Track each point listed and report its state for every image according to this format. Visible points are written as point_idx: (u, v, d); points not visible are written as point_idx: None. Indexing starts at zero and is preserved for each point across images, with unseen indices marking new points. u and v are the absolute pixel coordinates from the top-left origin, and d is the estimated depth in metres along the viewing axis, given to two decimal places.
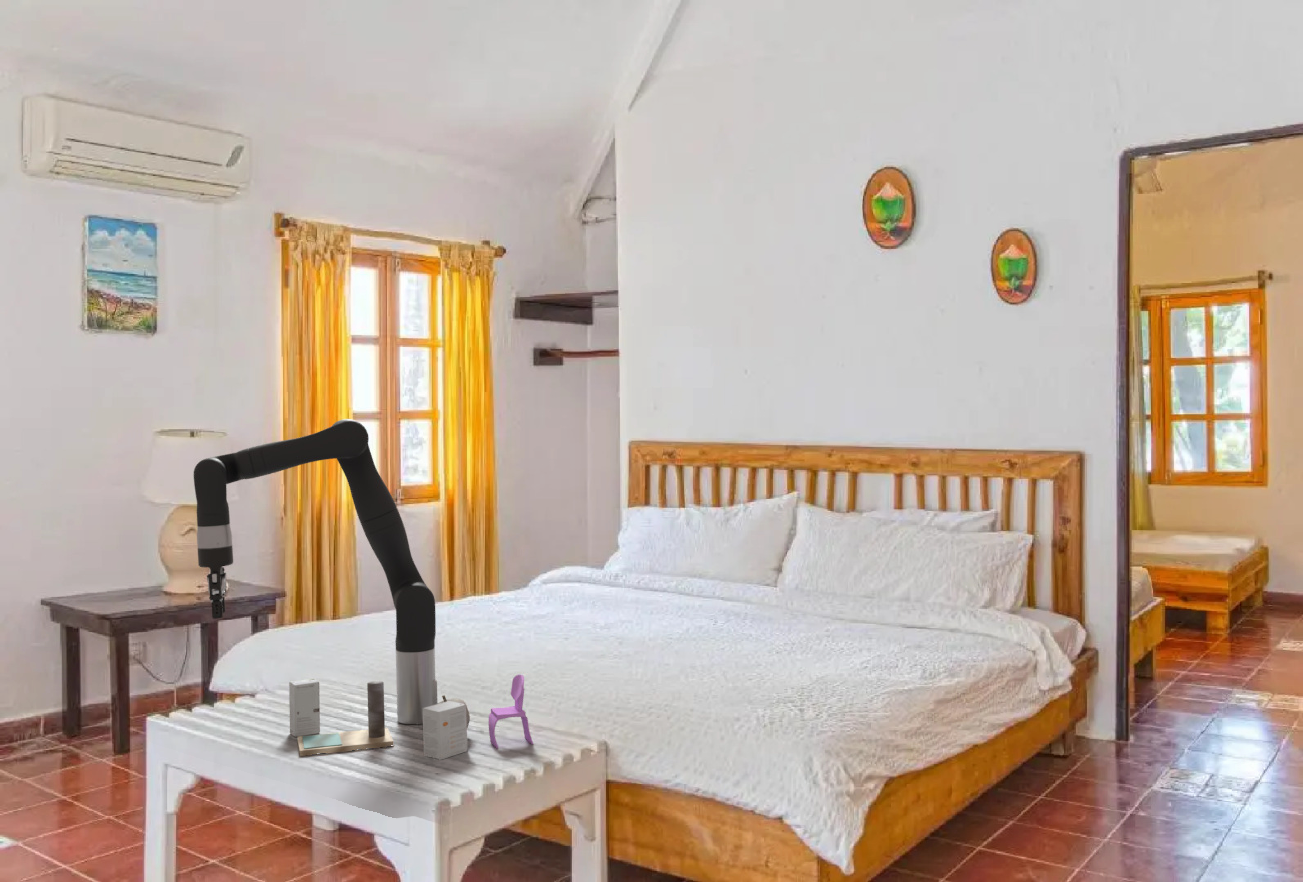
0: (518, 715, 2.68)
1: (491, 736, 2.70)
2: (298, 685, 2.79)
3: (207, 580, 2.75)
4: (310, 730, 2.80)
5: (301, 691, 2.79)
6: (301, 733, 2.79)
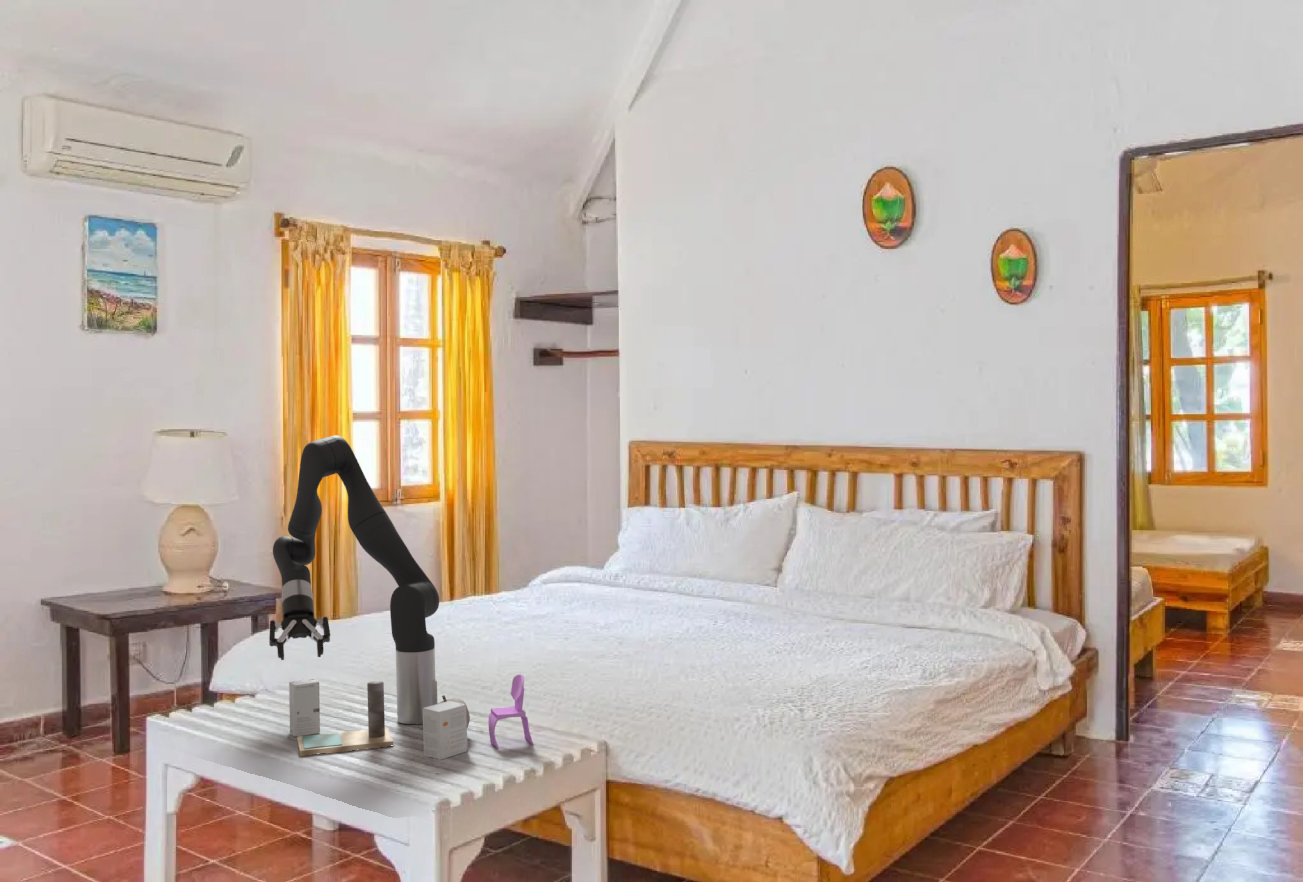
0: (518, 715, 2.68)
1: (491, 736, 2.70)
2: (298, 685, 2.79)
3: None
4: (310, 730, 2.80)
5: (301, 691, 2.79)
6: (301, 733, 2.79)
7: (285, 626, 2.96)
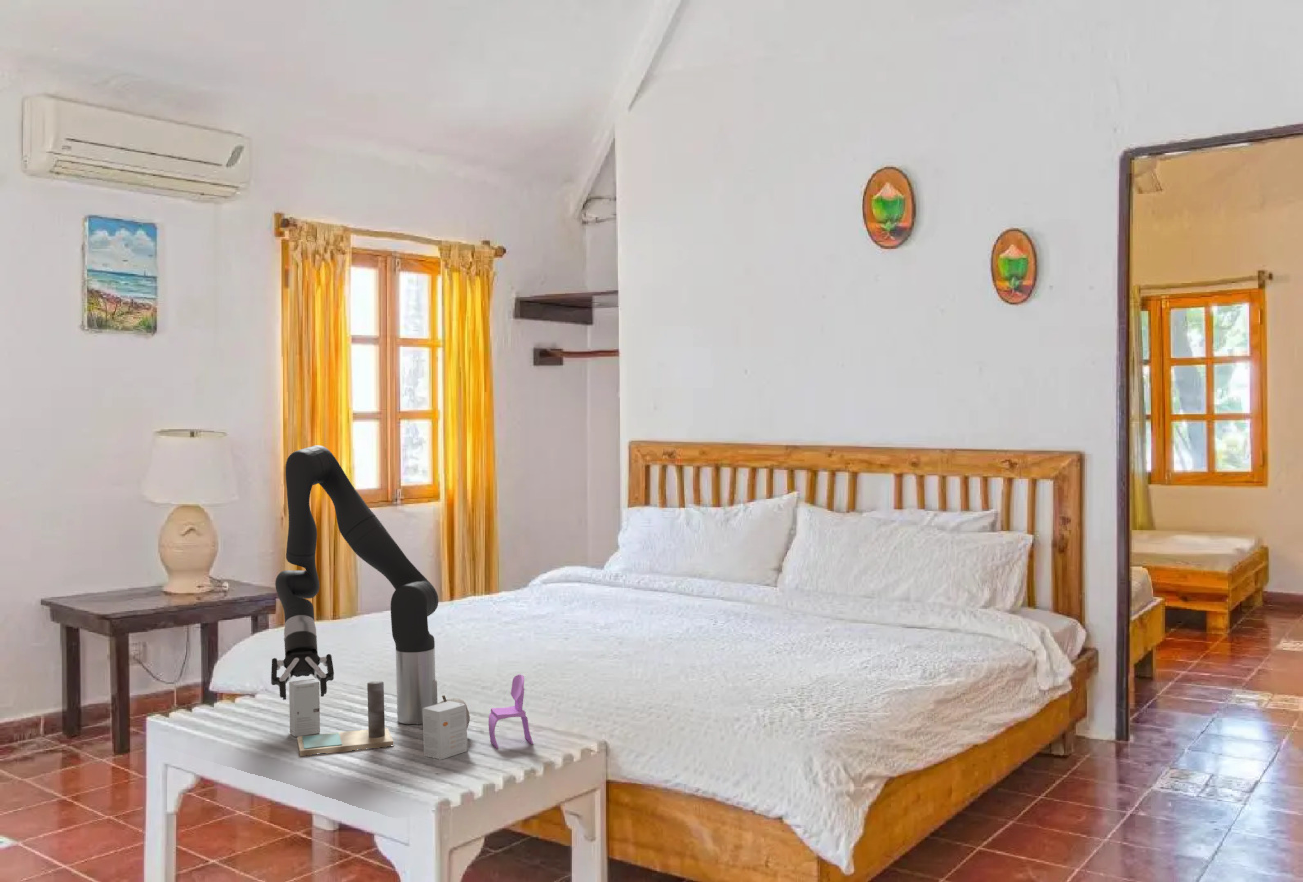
0: (518, 715, 2.68)
1: (491, 736, 2.70)
2: (298, 685, 2.79)
3: None
4: (310, 730, 2.80)
5: (301, 691, 2.79)
6: (301, 733, 2.79)
7: (287, 664, 2.87)
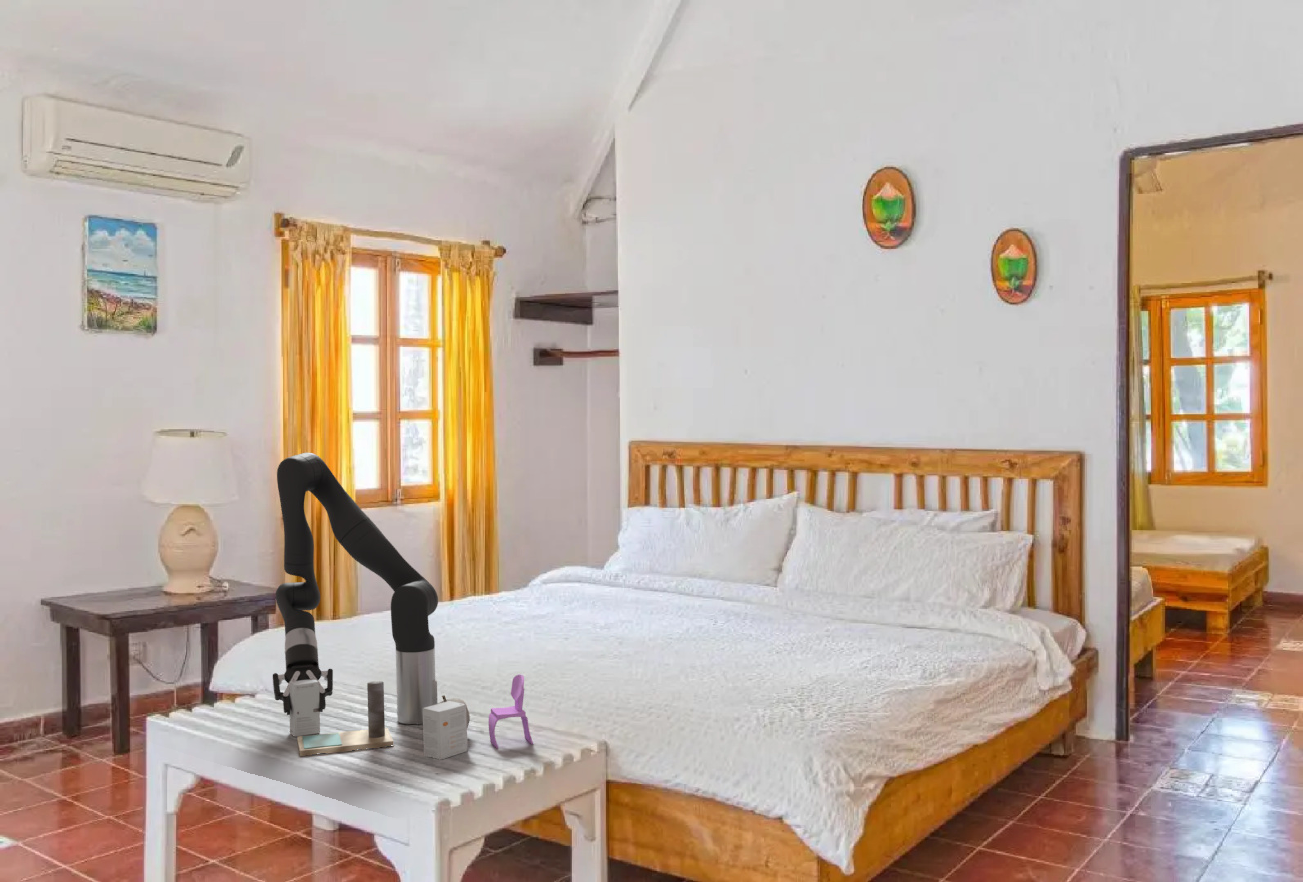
0: (518, 715, 2.68)
1: (491, 736, 2.70)
2: (298, 685, 2.79)
3: None
4: (310, 730, 2.80)
5: (301, 691, 2.79)
6: (301, 733, 2.79)
7: (289, 678, 2.84)
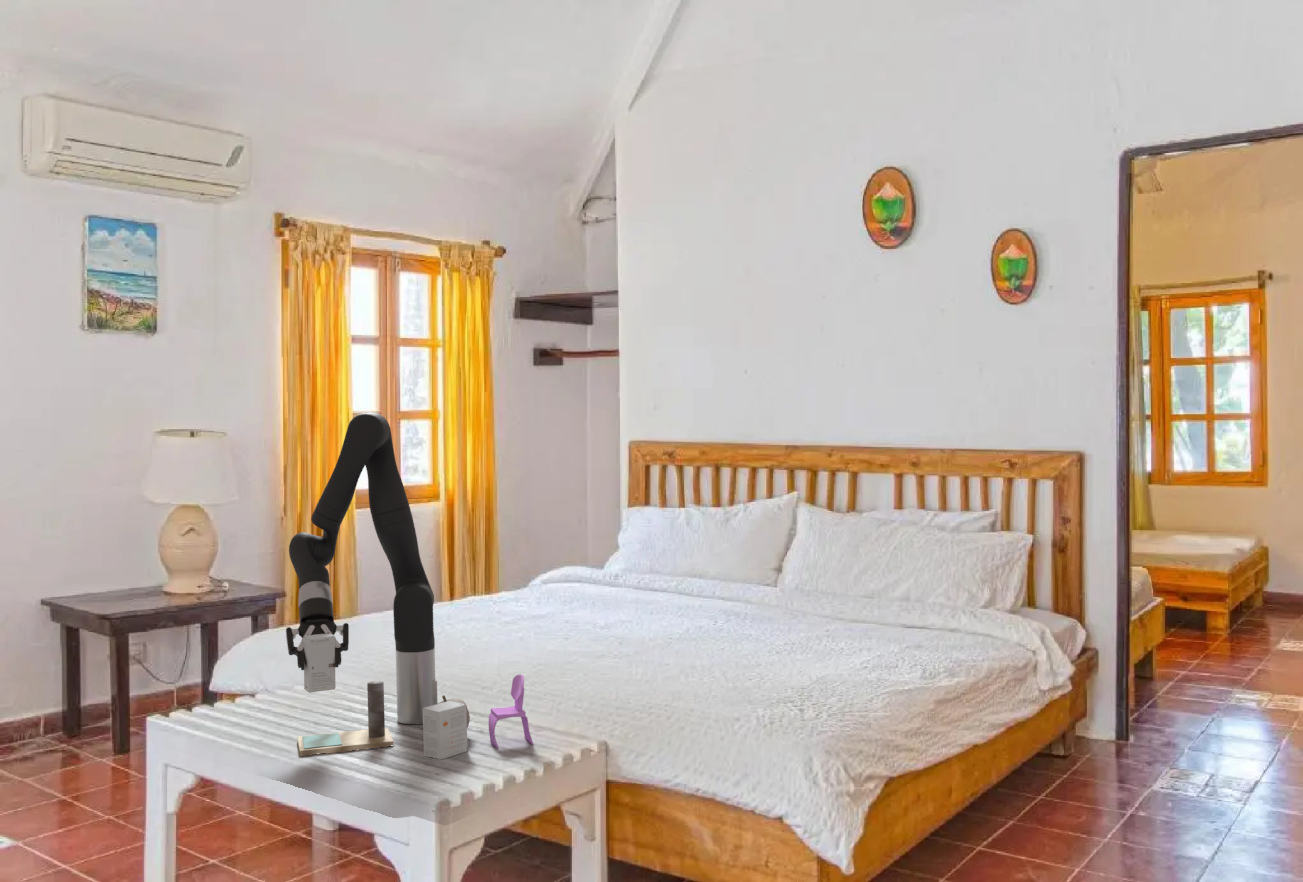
0: (518, 715, 2.68)
1: (491, 736, 2.70)
2: (313, 639, 2.67)
3: None
4: (325, 686, 2.69)
5: (316, 645, 2.68)
6: (316, 689, 2.68)
7: (303, 632, 2.73)
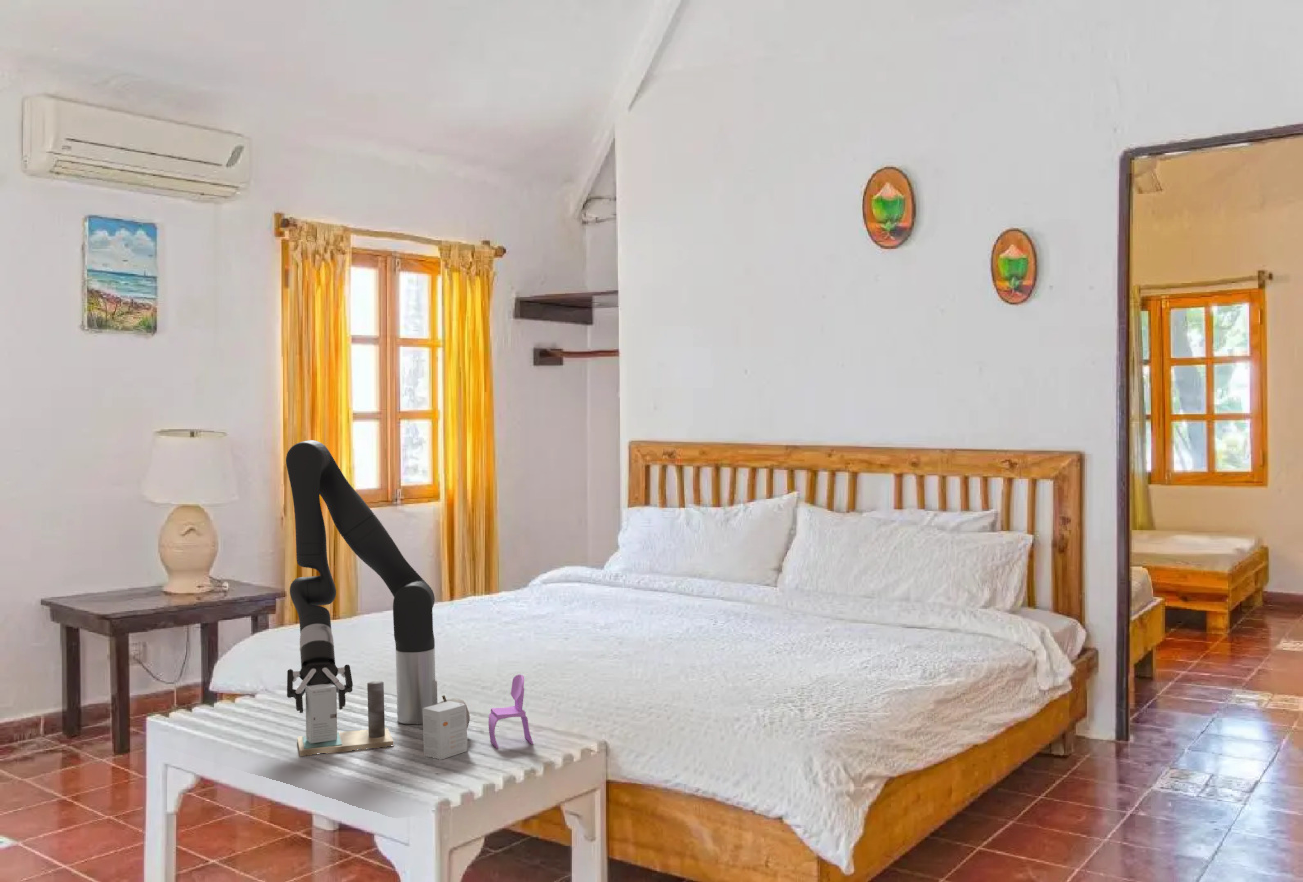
0: (518, 715, 2.68)
1: (491, 736, 2.70)
2: (314, 690, 2.68)
3: None
4: (327, 737, 2.69)
5: (317, 696, 2.68)
6: (317, 740, 2.68)
7: (304, 675, 2.73)
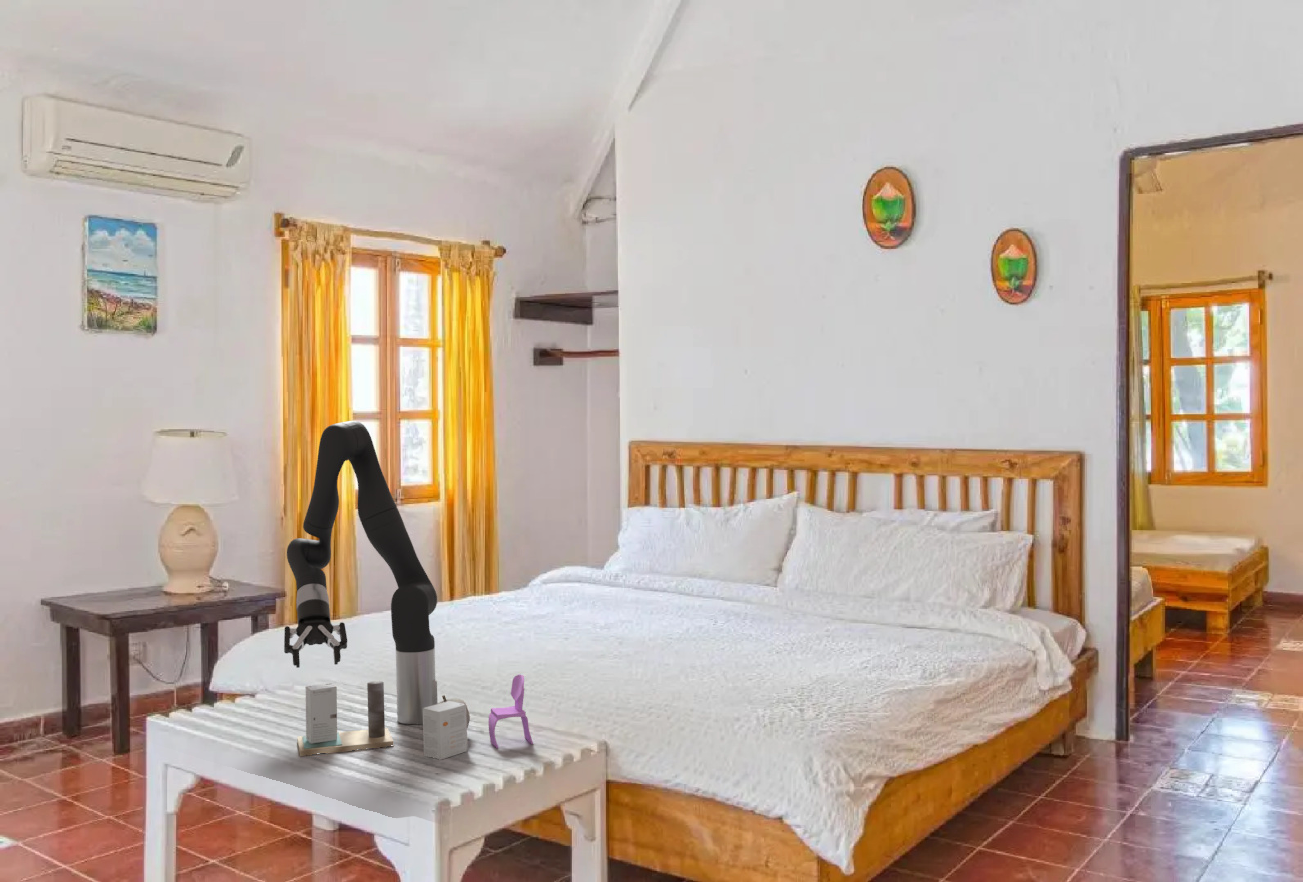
0: (518, 715, 2.68)
1: (491, 736, 2.70)
2: (314, 690, 2.68)
3: None
4: (327, 737, 2.69)
5: (317, 696, 2.68)
6: (317, 740, 2.68)
7: (300, 632, 2.84)
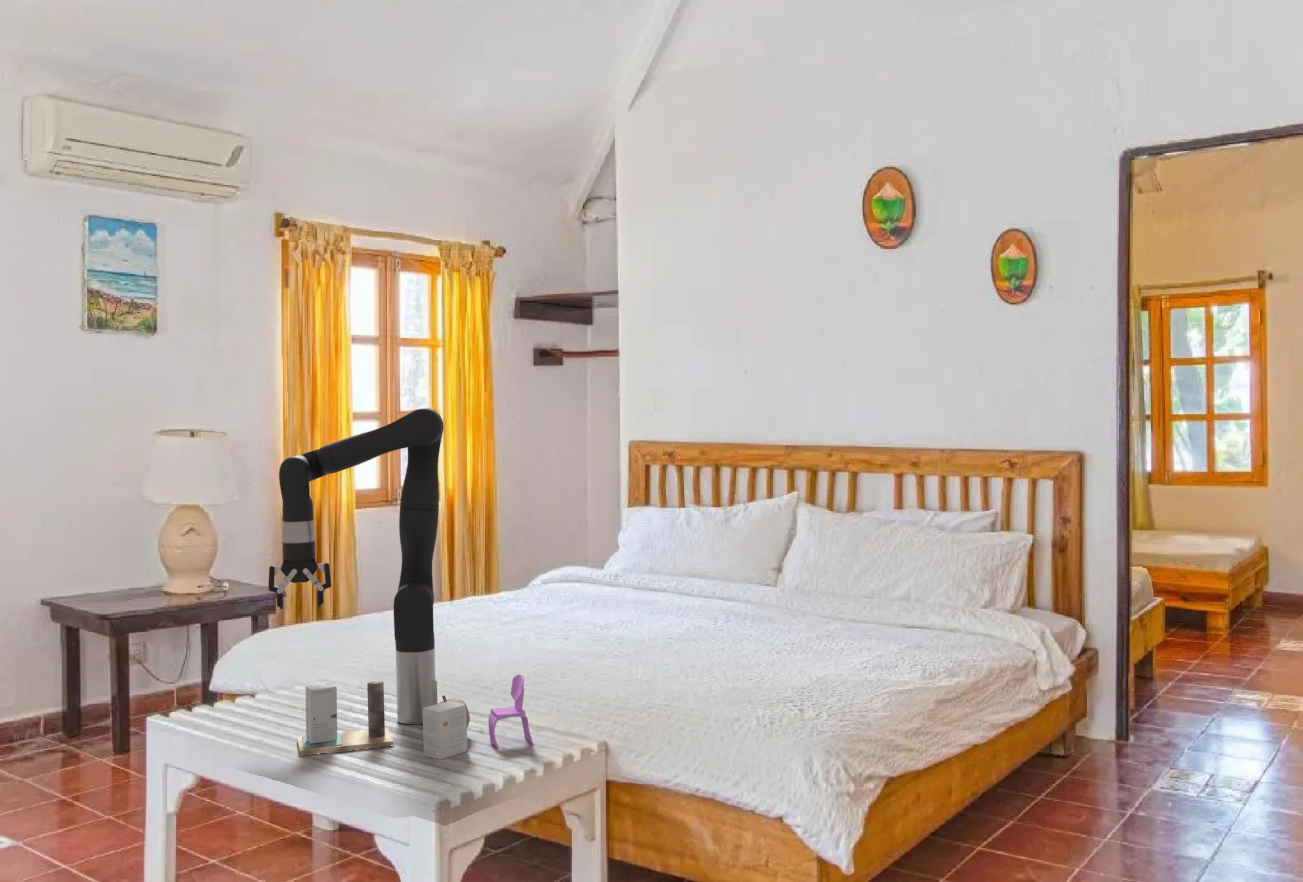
0: (518, 715, 2.68)
1: (491, 736, 2.70)
2: (314, 690, 2.68)
3: None
4: (327, 737, 2.69)
5: (317, 696, 2.68)
6: (317, 740, 2.68)
7: (285, 573, 2.86)
